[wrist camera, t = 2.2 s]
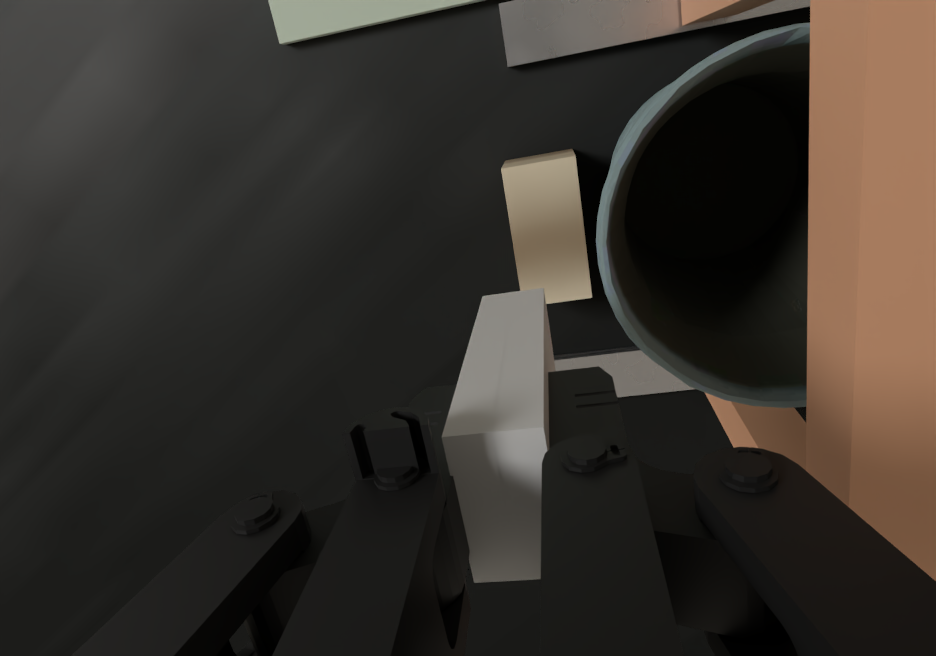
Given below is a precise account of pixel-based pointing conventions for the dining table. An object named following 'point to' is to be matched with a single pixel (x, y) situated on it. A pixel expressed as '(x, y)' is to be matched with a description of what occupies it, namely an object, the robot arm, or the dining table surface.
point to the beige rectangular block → (548, 225)
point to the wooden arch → (865, 269)
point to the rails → (590, 28)
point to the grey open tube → (717, 222)
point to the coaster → (345, 15)
